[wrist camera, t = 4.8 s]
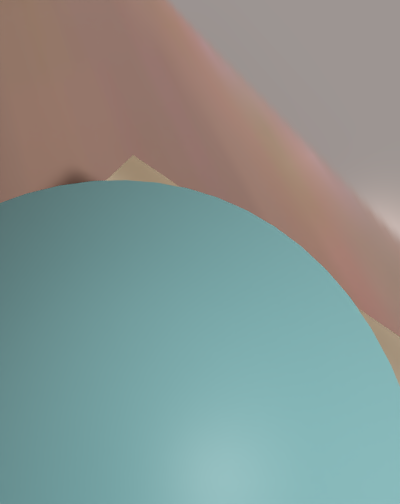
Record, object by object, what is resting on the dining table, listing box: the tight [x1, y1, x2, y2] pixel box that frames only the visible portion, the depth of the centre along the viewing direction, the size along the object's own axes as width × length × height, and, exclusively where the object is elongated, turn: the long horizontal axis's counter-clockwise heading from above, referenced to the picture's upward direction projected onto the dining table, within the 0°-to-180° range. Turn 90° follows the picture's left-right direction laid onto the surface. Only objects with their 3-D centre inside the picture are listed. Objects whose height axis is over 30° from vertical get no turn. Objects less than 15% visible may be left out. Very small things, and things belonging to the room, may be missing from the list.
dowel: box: [0, 180, 400, 504], centre depth 8 cm, size 5×5×12 cm
